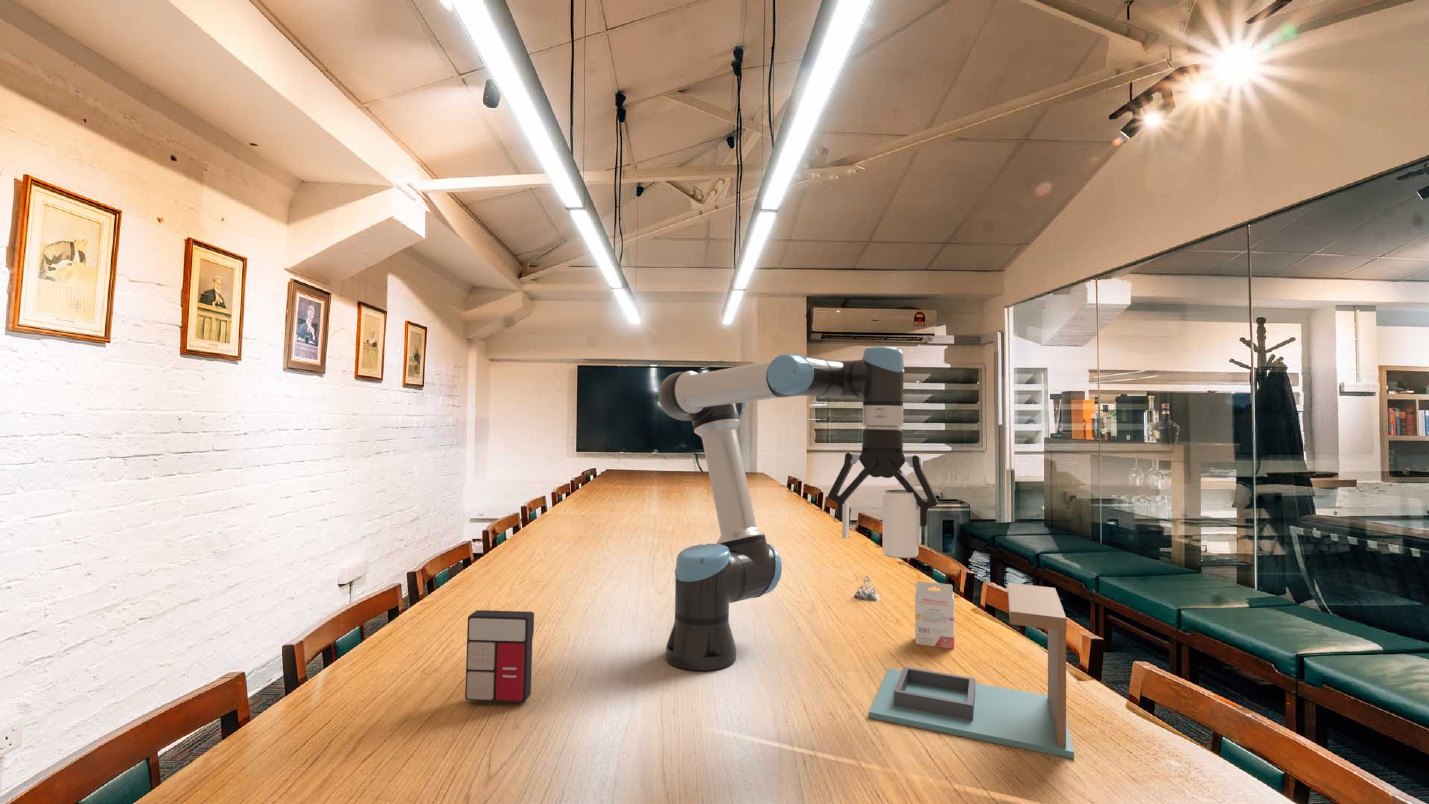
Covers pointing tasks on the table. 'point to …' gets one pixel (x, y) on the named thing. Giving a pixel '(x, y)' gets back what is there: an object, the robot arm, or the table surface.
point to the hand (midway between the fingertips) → (881, 540)
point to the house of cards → (867, 592)
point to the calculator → (499, 656)
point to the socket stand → (990, 690)
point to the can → (899, 524)
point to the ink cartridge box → (934, 615)
